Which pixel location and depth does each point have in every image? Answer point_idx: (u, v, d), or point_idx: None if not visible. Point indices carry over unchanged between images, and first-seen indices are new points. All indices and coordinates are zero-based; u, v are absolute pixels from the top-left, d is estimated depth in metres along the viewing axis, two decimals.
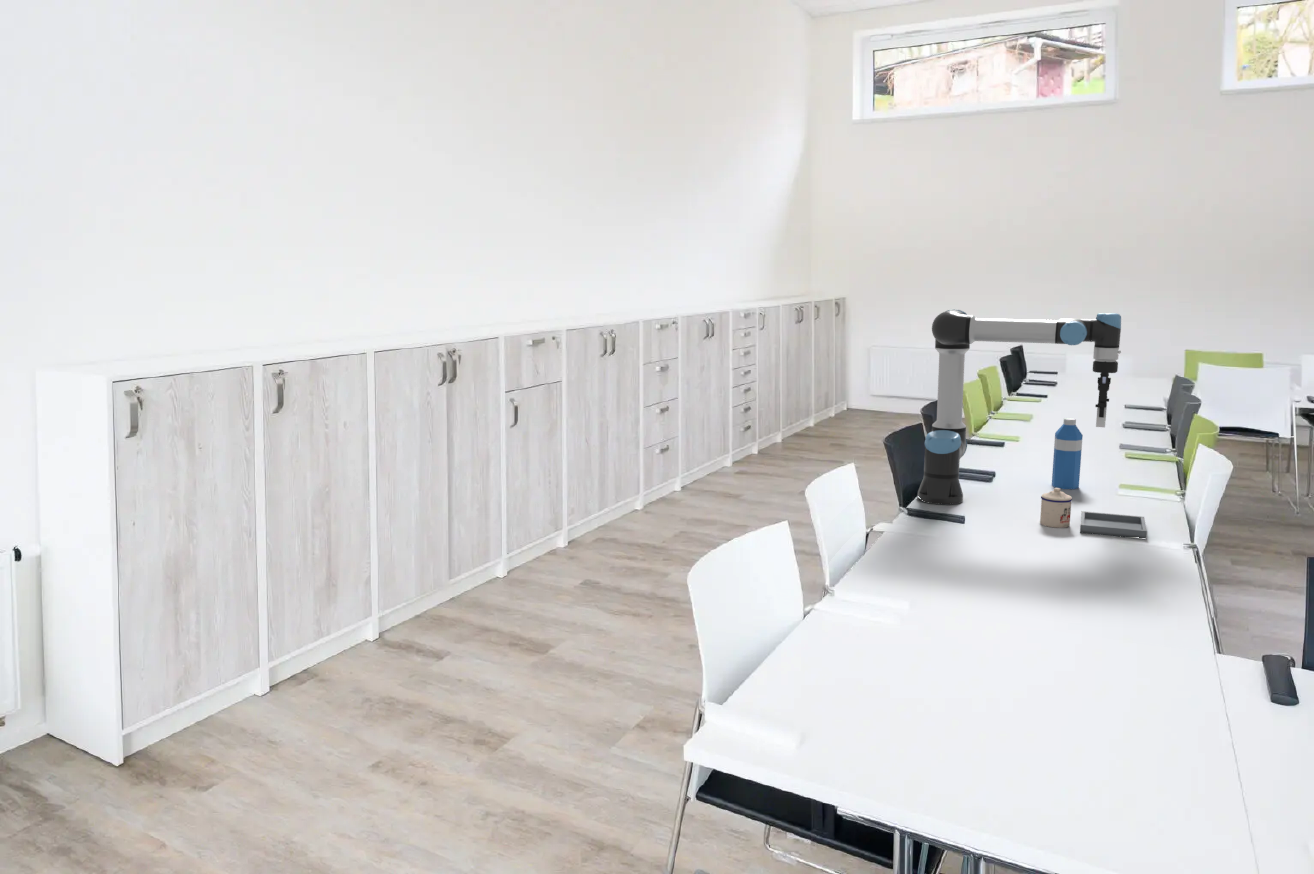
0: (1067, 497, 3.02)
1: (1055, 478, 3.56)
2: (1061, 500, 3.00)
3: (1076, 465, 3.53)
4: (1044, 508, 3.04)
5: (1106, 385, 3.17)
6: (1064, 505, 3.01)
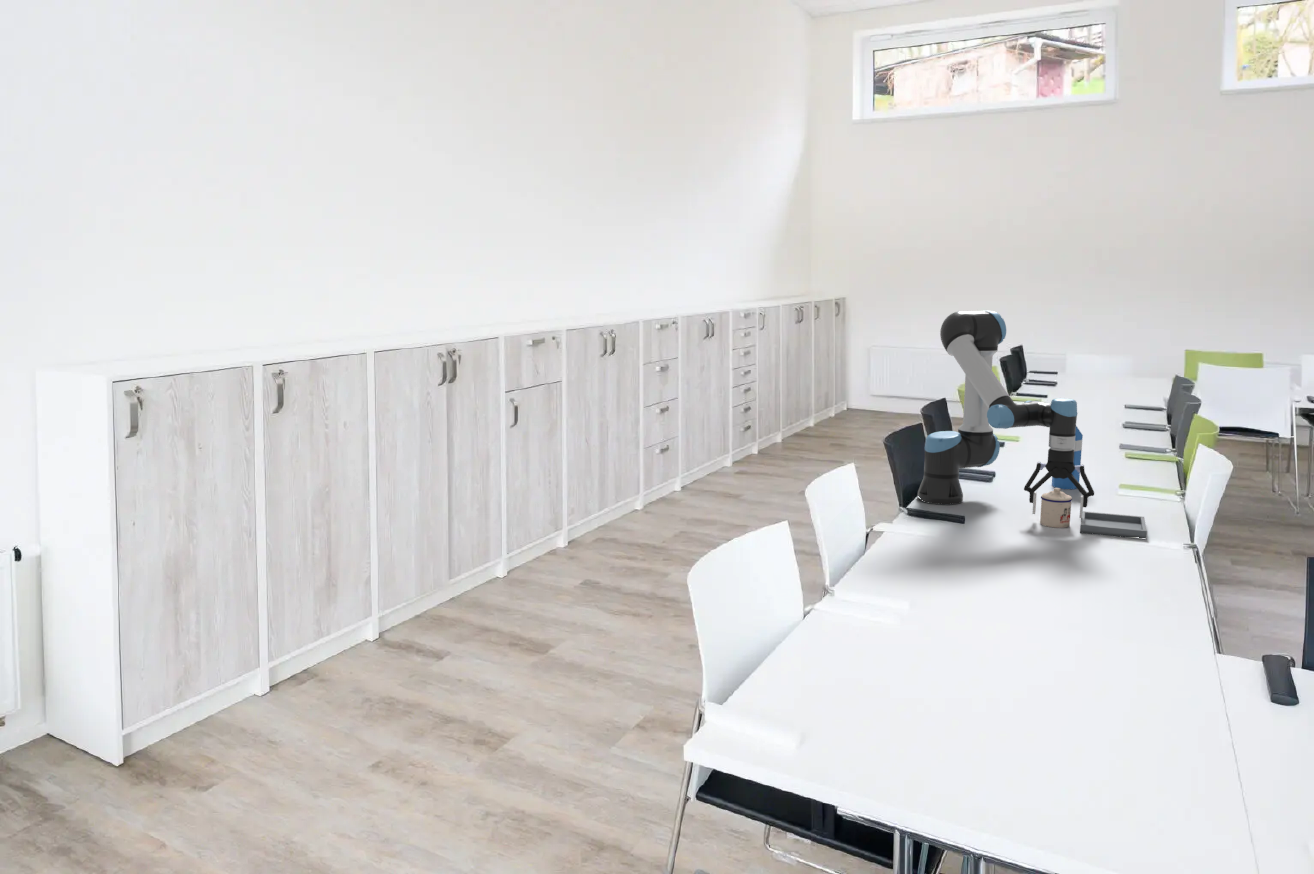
0: (1067, 497, 3.02)
1: (1055, 478, 3.56)
2: (1061, 500, 3.00)
3: (1076, 465, 3.53)
4: (1044, 508, 3.04)
5: None
6: (1064, 505, 3.01)
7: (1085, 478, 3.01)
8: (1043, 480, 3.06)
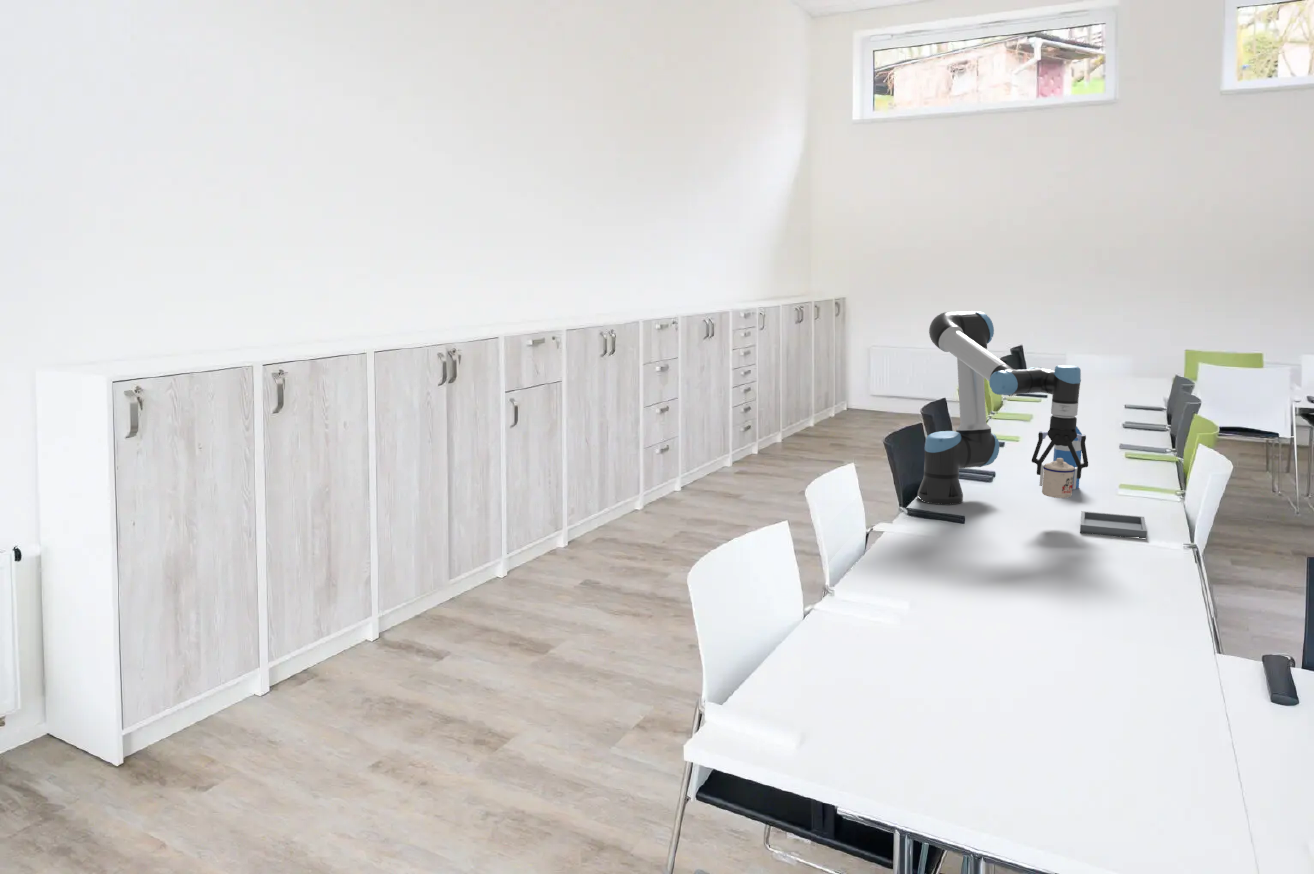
0: (1070, 467, 3.00)
1: None
2: (1063, 470, 2.99)
3: (1076, 465, 3.53)
4: (1046, 478, 3.03)
5: (1038, 441, 3.05)
6: (1067, 475, 3.00)
7: (1084, 448, 3.00)
8: (1048, 450, 3.04)
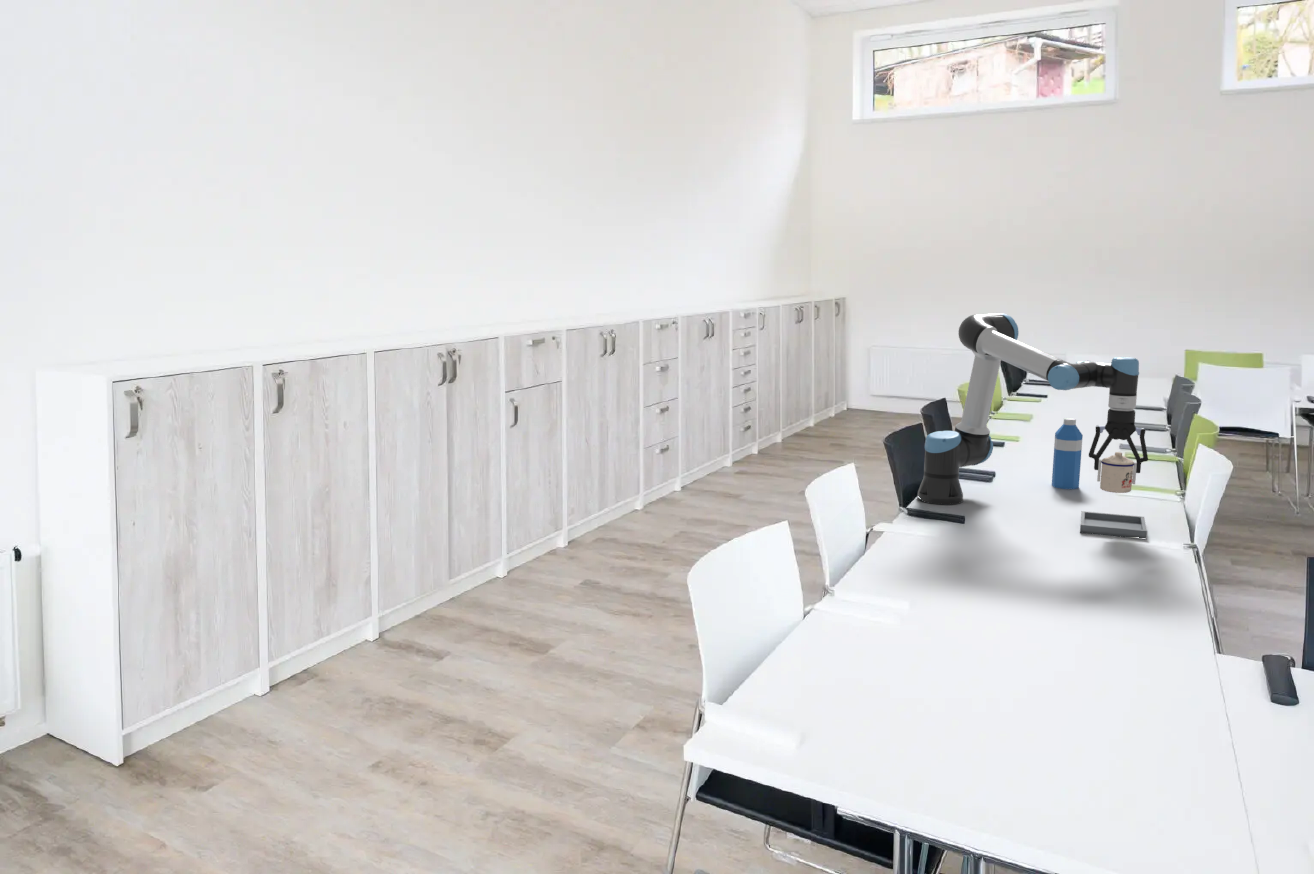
0: (1129, 461, 2.93)
1: (1055, 478, 3.56)
2: (1123, 464, 2.92)
3: (1076, 465, 3.53)
4: (1105, 473, 2.96)
5: (1095, 435, 2.98)
6: (1126, 469, 2.92)
7: (1143, 442, 2.92)
8: (1106, 444, 2.97)
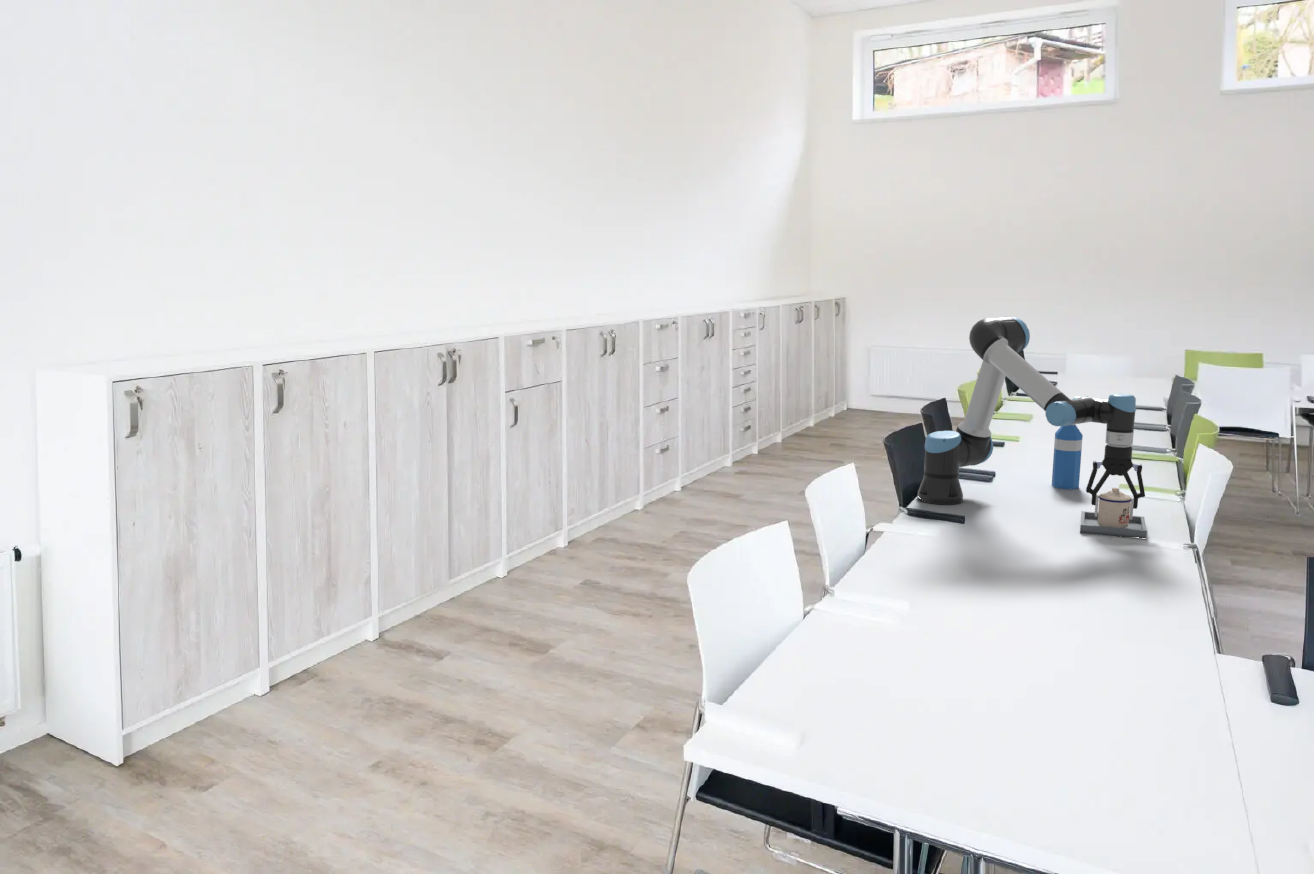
0: (1126, 497, 2.95)
1: (1055, 478, 3.56)
2: (1120, 500, 2.94)
3: (1076, 465, 3.53)
4: (1102, 508, 2.98)
5: (1092, 470, 3.00)
6: (1123, 505, 2.94)
7: (1140, 478, 2.94)
8: (1103, 479, 2.99)
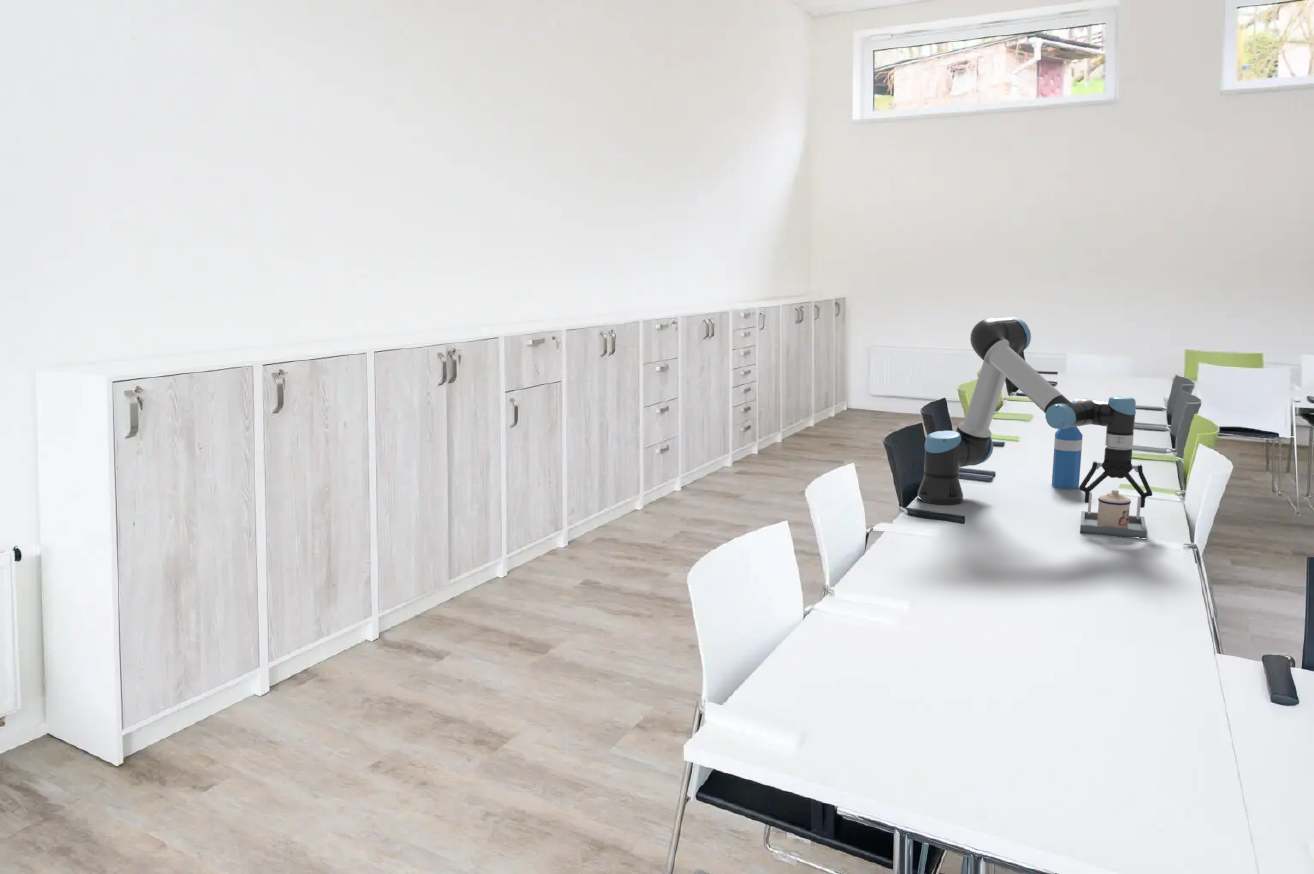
0: (1126, 499, 2.95)
1: (1055, 478, 3.56)
2: (1120, 502, 2.94)
3: (1076, 465, 3.53)
4: (1101, 510, 2.98)
5: (1090, 470, 3.00)
6: (1123, 507, 2.94)
7: (1143, 478, 2.94)
8: (1099, 480, 2.99)
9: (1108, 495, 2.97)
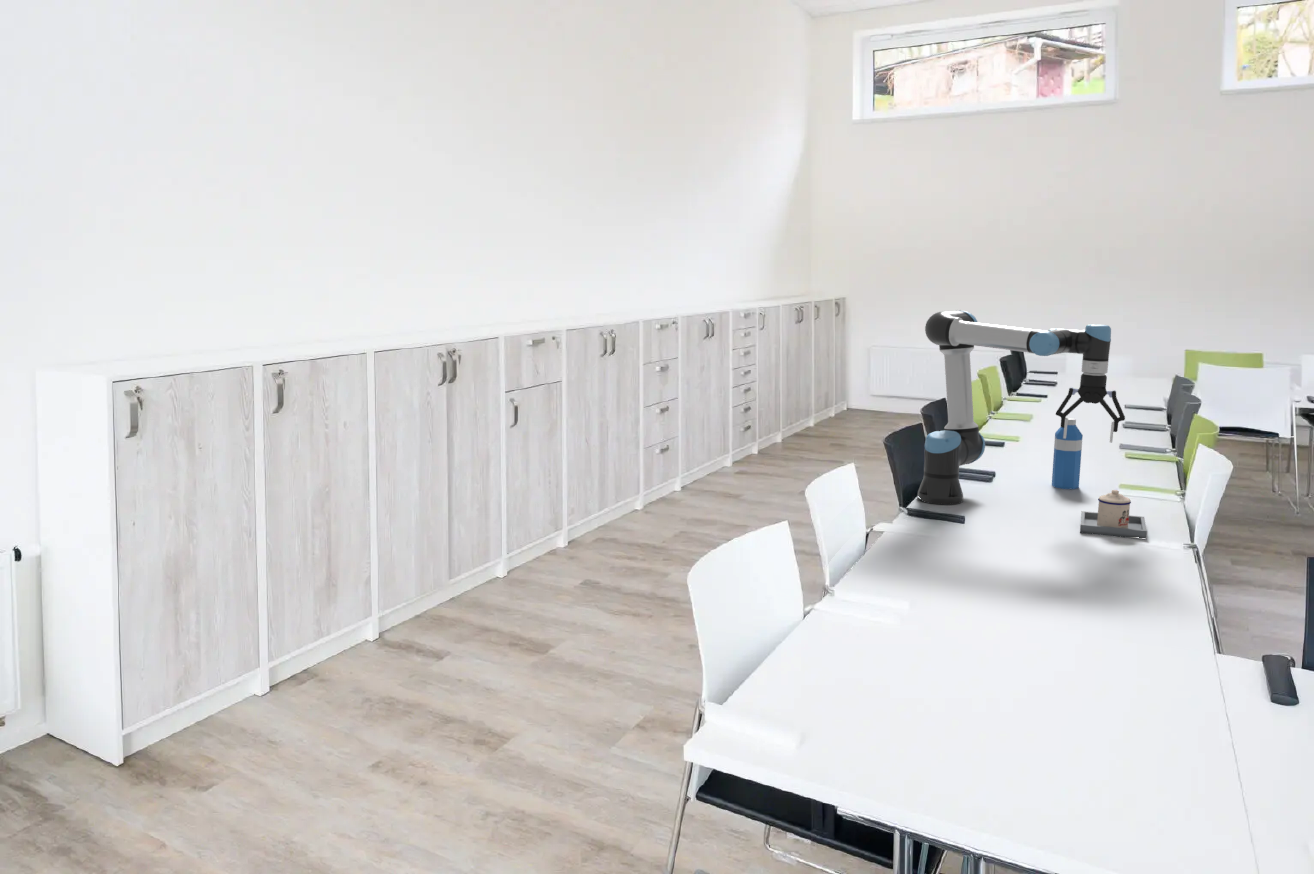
0: (1126, 499, 2.95)
1: (1055, 478, 3.56)
2: (1120, 502, 2.94)
3: (1076, 465, 3.53)
4: (1101, 510, 2.98)
5: (1067, 395, 3.13)
6: (1123, 507, 2.94)
7: (1116, 403, 3.06)
8: (1075, 405, 3.12)
9: (1108, 495, 2.97)
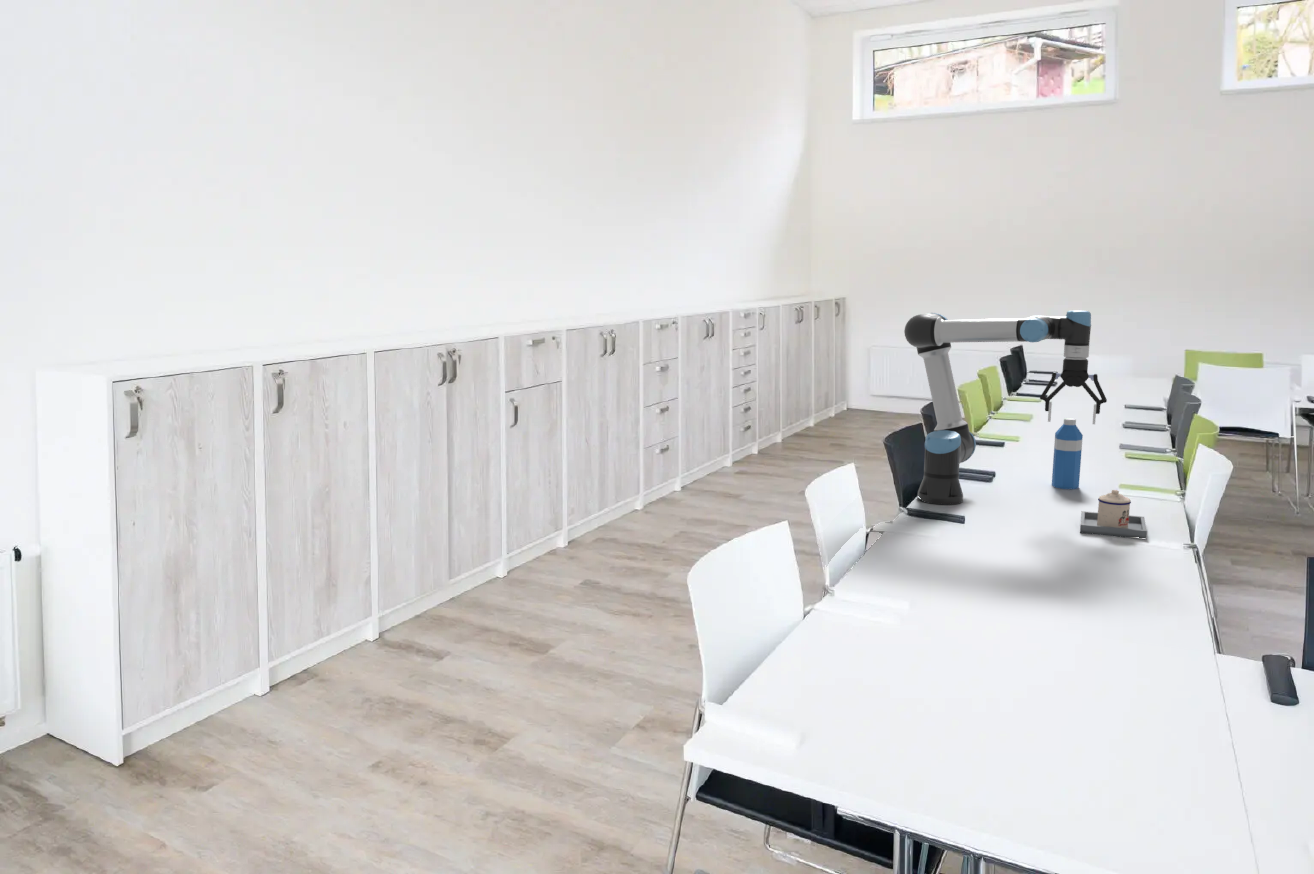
0: (1126, 499, 2.95)
1: (1055, 478, 3.56)
2: (1120, 502, 2.94)
3: (1076, 465, 3.53)
4: (1101, 510, 2.98)
5: (1050, 380, 3.23)
6: (1123, 507, 2.94)
7: (1098, 386, 3.17)
8: (1058, 389, 3.22)
9: (1108, 495, 2.97)
